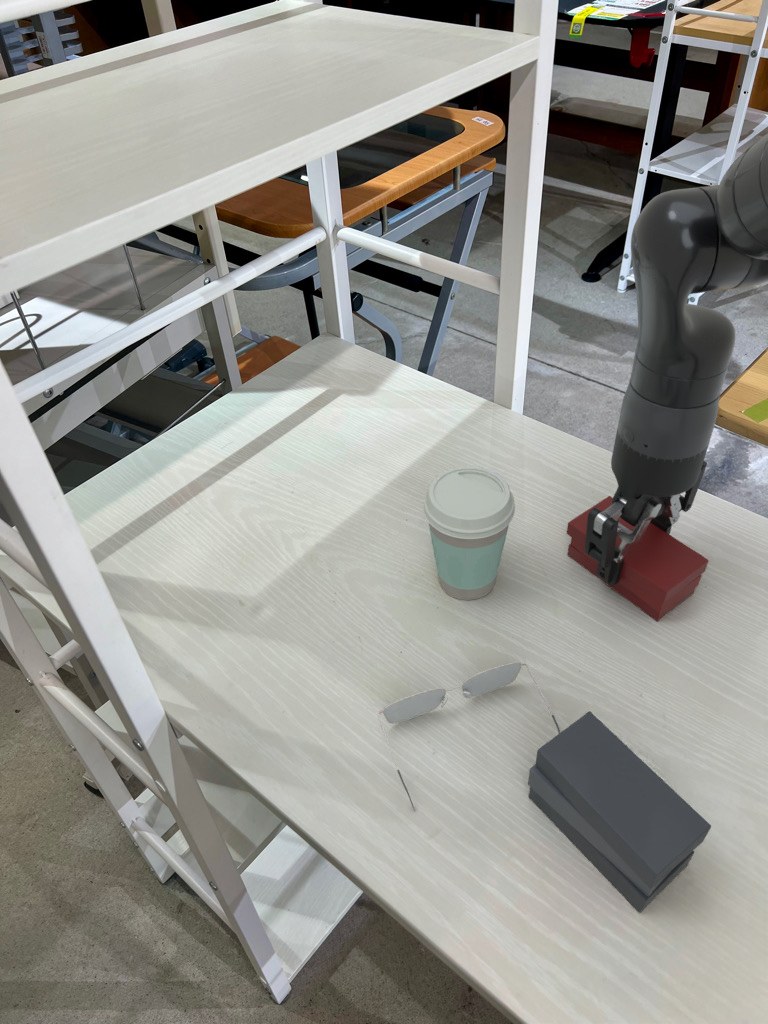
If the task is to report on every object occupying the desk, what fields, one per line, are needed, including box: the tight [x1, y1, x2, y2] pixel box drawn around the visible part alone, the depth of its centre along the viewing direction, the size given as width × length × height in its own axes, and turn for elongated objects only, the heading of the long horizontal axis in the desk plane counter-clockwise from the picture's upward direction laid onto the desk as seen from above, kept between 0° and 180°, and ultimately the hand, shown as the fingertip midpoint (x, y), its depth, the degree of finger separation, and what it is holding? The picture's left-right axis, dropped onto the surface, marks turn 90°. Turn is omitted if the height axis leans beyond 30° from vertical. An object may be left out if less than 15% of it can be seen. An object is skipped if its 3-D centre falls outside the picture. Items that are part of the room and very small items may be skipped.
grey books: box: [527, 711, 712, 914], centre depth 55 cm, size 12×6×7 cm, turn 37°
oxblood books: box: [567, 537, 703, 622], centre depth 75 cm, size 12×6×3 cm, turn 37°
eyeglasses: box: [376, 661, 561, 812], centre depth 62 cm, size 14×8×4 cm, turn 109°
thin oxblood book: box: [566, 495, 710, 603], centre depth 73 cm, size 12×6×2 cm, turn 37°
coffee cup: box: [422, 465, 516, 601], centre depth 72 cm, size 8×8×12 cm
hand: (631, 562), depth 75 cm, fingers open, 6 cm apart
